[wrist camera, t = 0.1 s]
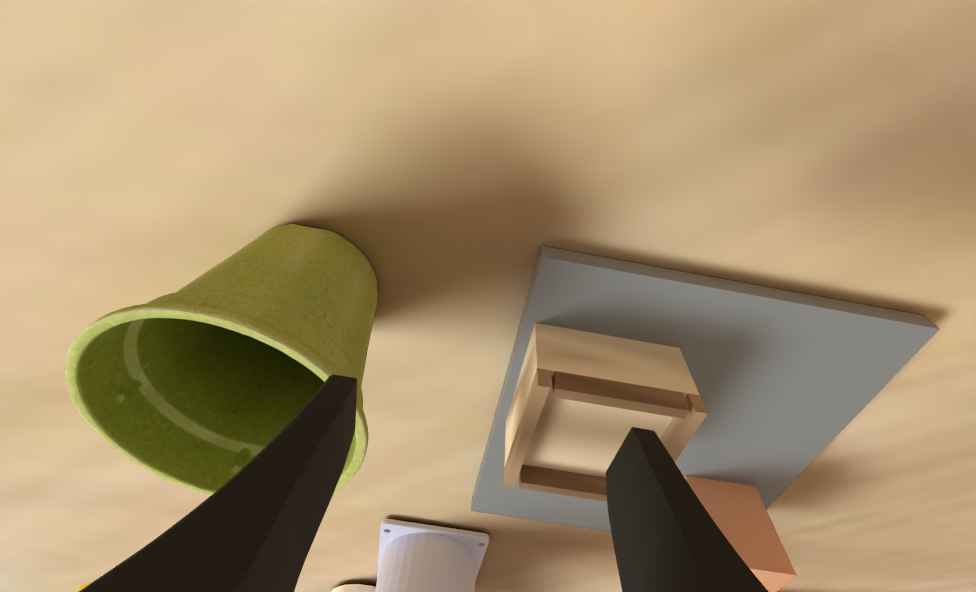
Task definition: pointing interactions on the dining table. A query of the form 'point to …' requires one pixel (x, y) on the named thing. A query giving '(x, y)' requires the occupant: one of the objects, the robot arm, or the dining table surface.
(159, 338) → the plant pot
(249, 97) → the dining table surface
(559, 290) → the grey board
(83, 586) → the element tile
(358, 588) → the cup
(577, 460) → the birch socket block
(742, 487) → the terracotta block
